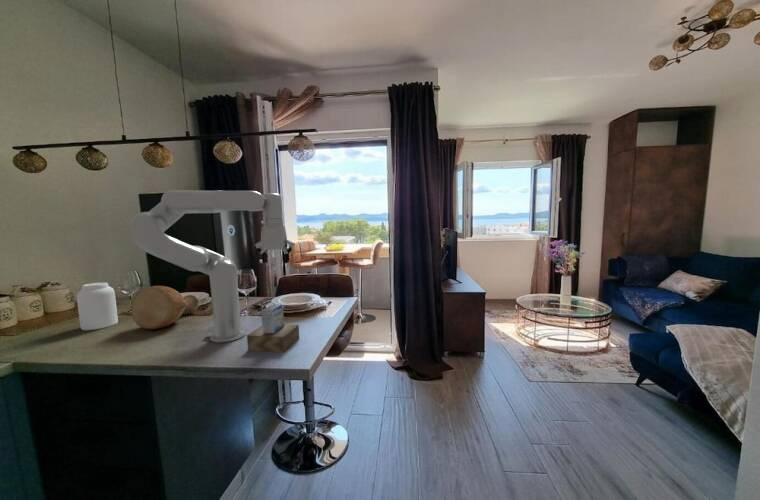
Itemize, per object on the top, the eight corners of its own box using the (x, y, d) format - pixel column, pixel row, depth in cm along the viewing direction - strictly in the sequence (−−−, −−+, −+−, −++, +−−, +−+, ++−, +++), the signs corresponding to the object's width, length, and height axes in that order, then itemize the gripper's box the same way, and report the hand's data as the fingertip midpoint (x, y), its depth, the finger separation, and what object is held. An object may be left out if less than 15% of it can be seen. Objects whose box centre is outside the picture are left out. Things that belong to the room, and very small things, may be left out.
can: (100, 330, 126) (94, 286, 124) (72, 331, 126) (66, 286, 124) (125, 321, 139) (121, 280, 137) (100, 321, 139) (95, 281, 137)
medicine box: (274, 334, 102) (272, 310, 102) (262, 333, 103) (260, 310, 102) (284, 326, 110) (282, 304, 110) (273, 326, 111) (272, 304, 110)
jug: (109, 307, 119) (161, 297, 149) (137, 343, 119) (184, 326, 149) (147, 278, 120) (192, 273, 150) (175, 313, 120) (215, 302, 150)
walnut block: (248, 351, 103) (247, 335, 102) (266, 338, 114) (265, 323, 114) (284, 353, 100) (283, 336, 100) (299, 339, 112) (298, 324, 112)
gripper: (249, 223, 119) (252, 264, 120) (289, 222, 117) (291, 264, 118) (259, 223, 126) (261, 261, 128) (296, 222, 124) (298, 261, 126)
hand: (275, 262), depth 123 cm, fingers open, 9 cm apart
